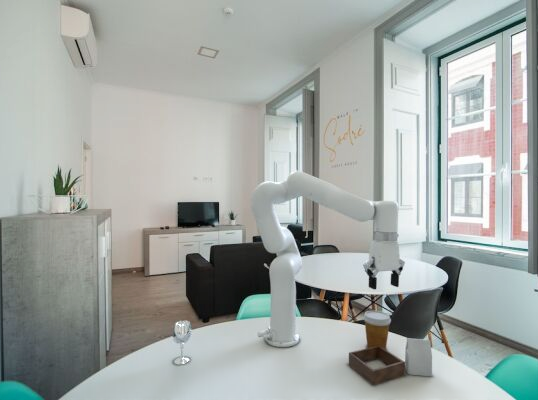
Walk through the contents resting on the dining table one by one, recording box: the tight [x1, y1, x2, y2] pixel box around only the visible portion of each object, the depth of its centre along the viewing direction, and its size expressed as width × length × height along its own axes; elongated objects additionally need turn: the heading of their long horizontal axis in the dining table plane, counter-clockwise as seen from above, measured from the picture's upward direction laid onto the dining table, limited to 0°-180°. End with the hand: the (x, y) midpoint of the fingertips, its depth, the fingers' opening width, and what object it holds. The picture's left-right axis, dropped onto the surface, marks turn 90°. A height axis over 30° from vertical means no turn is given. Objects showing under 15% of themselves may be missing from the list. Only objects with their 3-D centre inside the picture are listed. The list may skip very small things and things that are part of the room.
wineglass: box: [172, 320, 193, 366], centre depth 95 cm, size 6×6×12 cm
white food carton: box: [404, 337, 433, 377], centre depth 92 cm, size 4×7×10 cm, turn 83°
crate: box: [348, 346, 406, 386], centre depth 92 cm, size 12×11×4 cm
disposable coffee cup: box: [362, 310, 392, 350], centre depth 106 cm, size 10×10×12 cm
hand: (383, 287), depth 101 cm, fingers open, 9 cm apart
